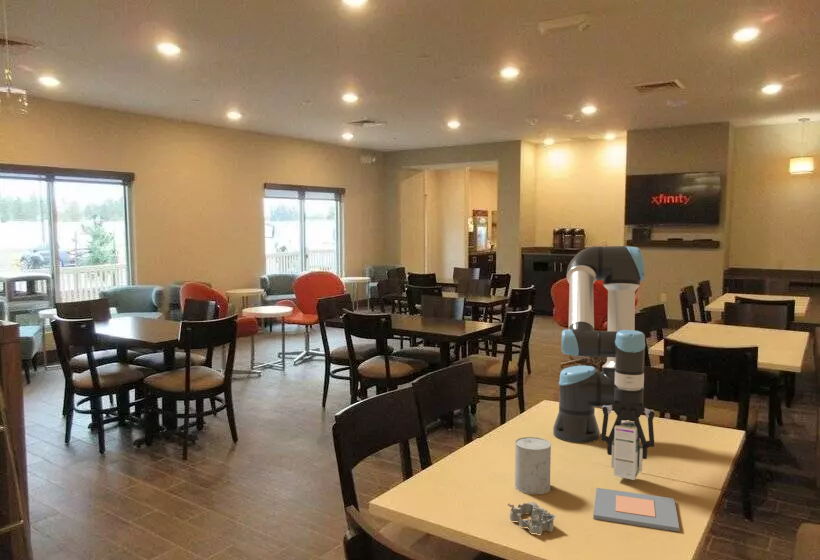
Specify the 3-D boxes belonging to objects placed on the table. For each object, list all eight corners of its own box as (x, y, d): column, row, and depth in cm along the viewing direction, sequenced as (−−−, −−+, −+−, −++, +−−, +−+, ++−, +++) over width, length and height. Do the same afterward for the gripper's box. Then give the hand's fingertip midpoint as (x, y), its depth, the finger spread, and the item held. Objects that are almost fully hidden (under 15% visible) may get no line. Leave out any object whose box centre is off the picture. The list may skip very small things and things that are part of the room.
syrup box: (635, 480, 162) (636, 429, 160) (612, 475, 165) (614, 425, 163) (639, 473, 166) (641, 422, 165) (617, 468, 170) (619, 419, 168)
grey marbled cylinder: (552, 482, 164) (552, 439, 163) (548, 497, 155) (549, 451, 154) (517, 477, 167) (518, 435, 166) (511, 492, 158) (512, 447, 157)
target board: (593, 518, 144) (593, 513, 143) (596, 491, 159) (596, 486, 158) (679, 532, 137) (679, 527, 137) (673, 502, 152) (674, 497, 152)
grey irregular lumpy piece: (505, 519, 144) (505, 502, 144) (530, 512, 148) (530, 496, 147) (533, 539, 135) (533, 521, 134) (559, 531, 138) (559, 514, 138)
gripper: (591, 387, 163) (589, 468, 165) (668, 394, 156) (665, 478, 159) (592, 380, 170) (590, 458, 172) (666, 386, 163) (663, 467, 166)
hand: (626, 467), depth 165 cm, fingers closed on syrup box, 6 cm apart
